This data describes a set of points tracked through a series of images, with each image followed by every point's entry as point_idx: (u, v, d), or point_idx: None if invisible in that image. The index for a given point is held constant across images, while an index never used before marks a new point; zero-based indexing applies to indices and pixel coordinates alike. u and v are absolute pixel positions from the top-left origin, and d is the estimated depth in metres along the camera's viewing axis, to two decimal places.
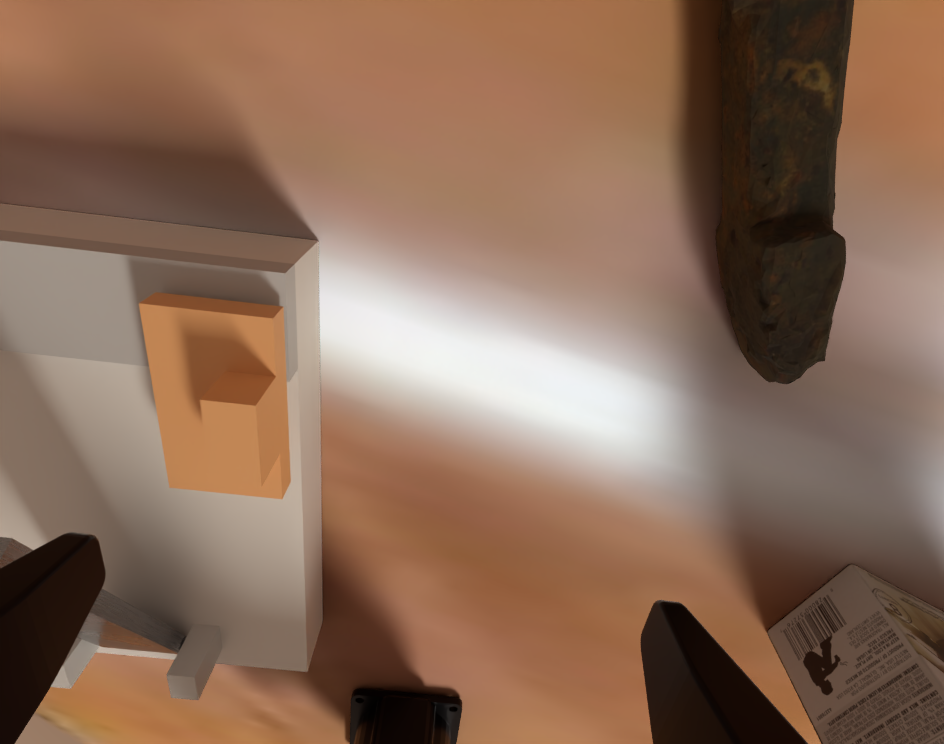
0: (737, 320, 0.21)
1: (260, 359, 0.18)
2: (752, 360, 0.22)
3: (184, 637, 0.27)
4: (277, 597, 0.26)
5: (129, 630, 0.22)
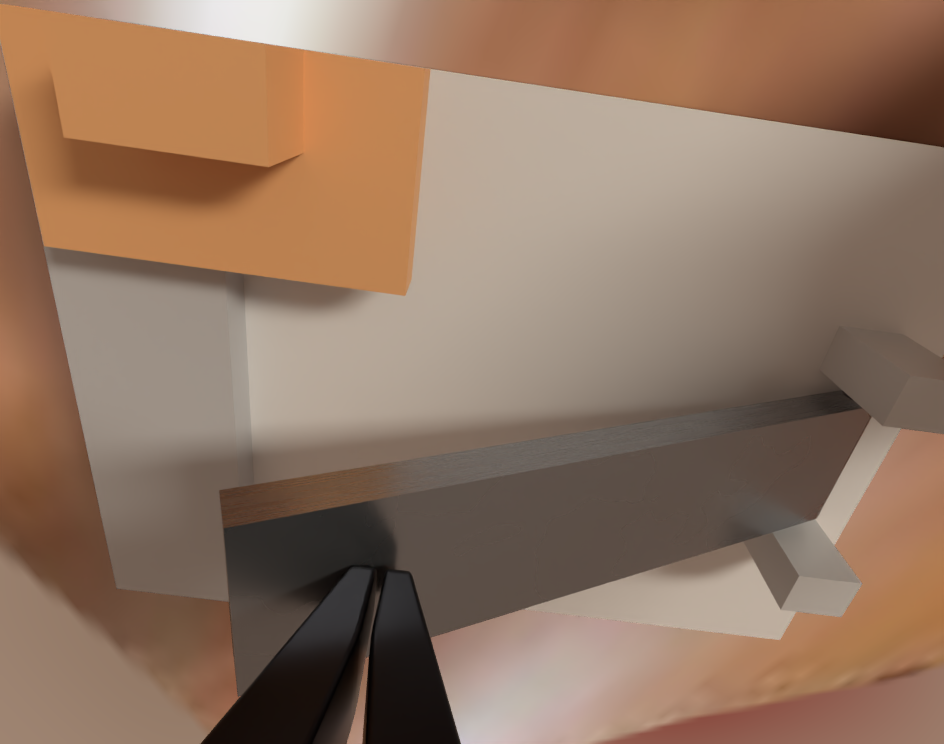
0: None
1: None
2: None
3: (844, 392, 0.14)
4: (792, 191, 0.12)
5: (698, 439, 0.11)
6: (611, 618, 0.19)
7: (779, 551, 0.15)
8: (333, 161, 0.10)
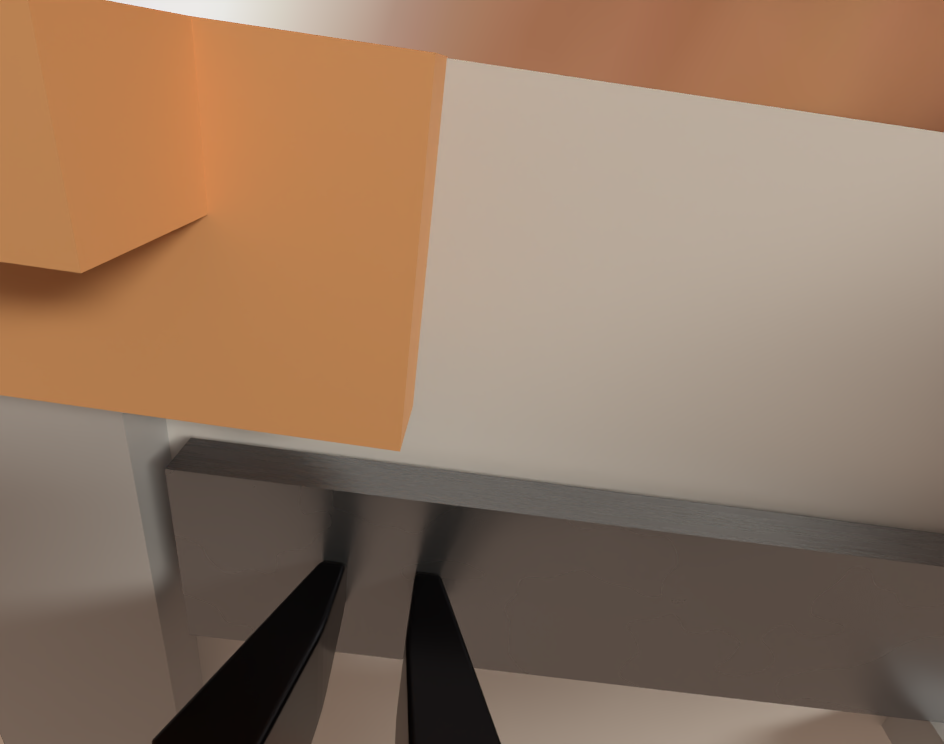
0: None
1: None
2: None
3: None
4: None
5: (749, 543, 0.09)
6: None
7: None
8: (263, 230, 0.05)
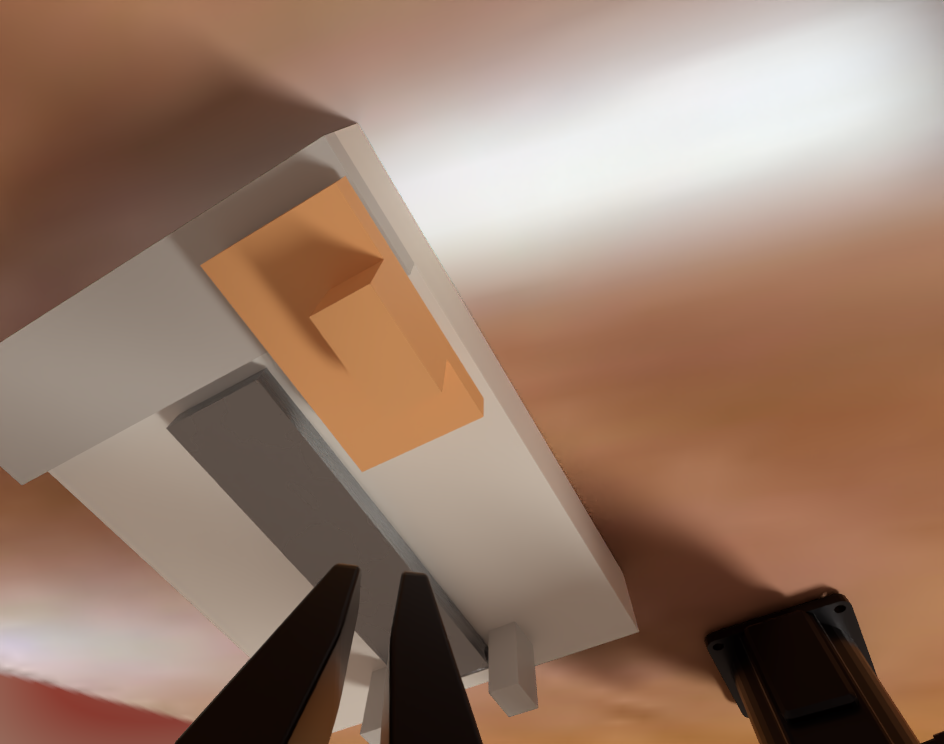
0: None
1: (354, 247, 0.14)
2: None
3: (487, 647, 0.23)
4: (555, 558, 0.21)
5: (410, 569, 0.20)
6: None
7: None
8: None
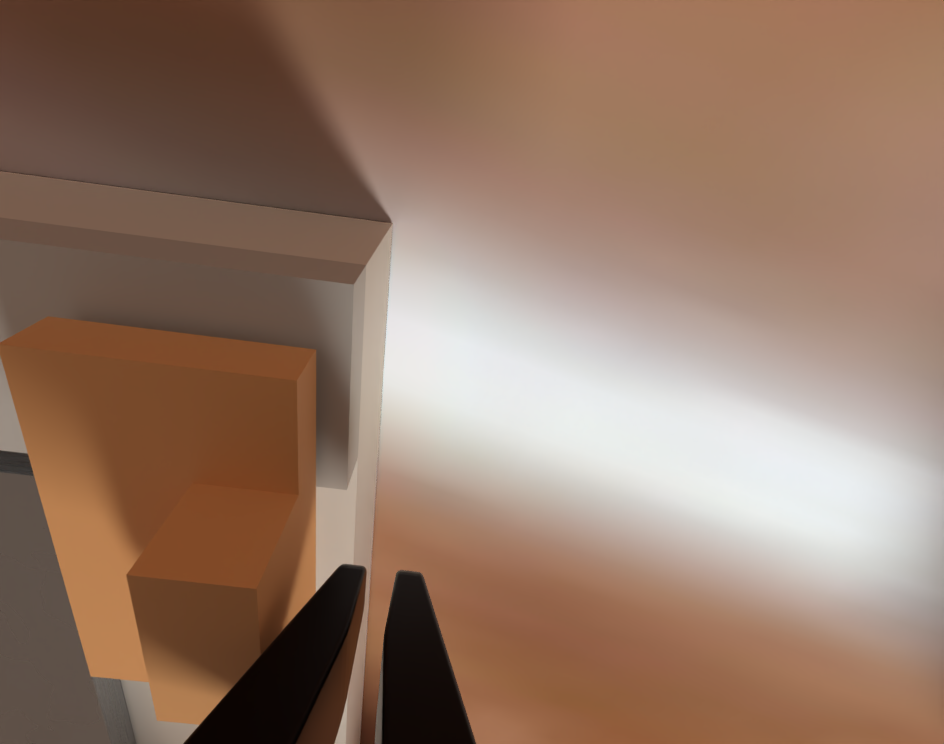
0: None
1: (267, 462, 0.08)
2: None
3: None
4: None
5: None
6: None
7: None
8: None
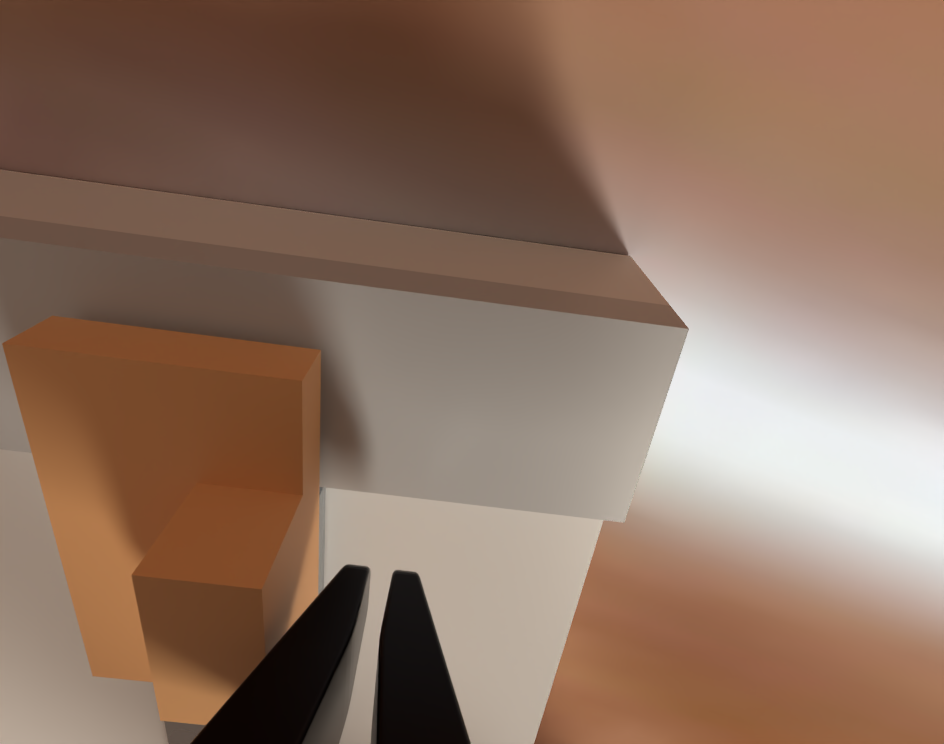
0: None
1: (271, 462, 0.08)
2: None
3: None
4: None
5: None
6: None
7: None
8: None
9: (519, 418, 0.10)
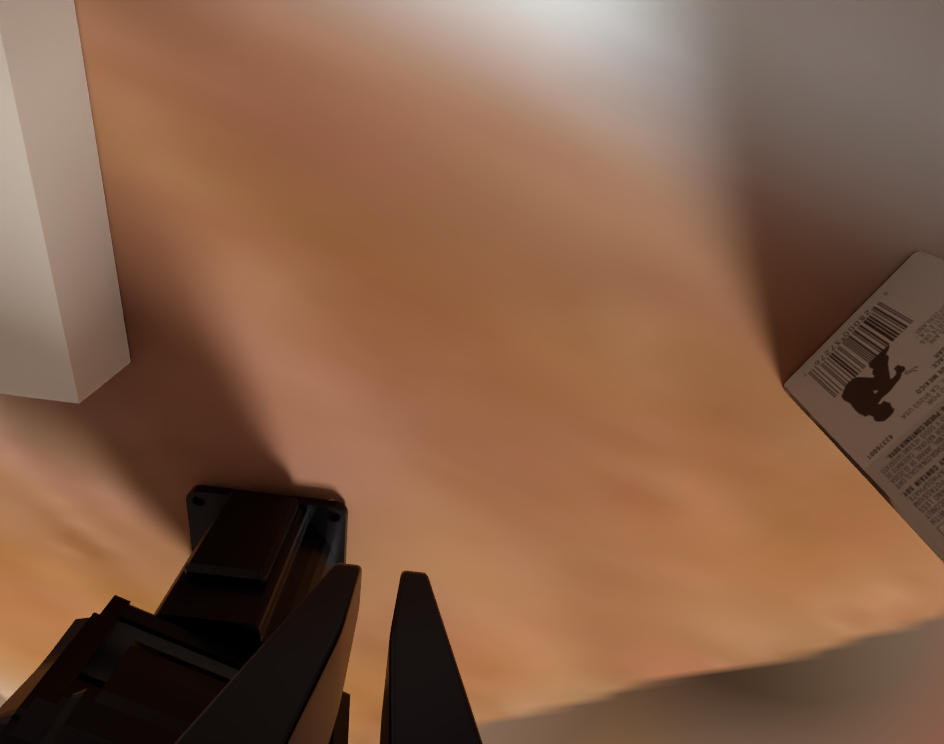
0: None
1: None
2: None
3: None
4: None
5: None
6: None
7: None
8: None
9: None
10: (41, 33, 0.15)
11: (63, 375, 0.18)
